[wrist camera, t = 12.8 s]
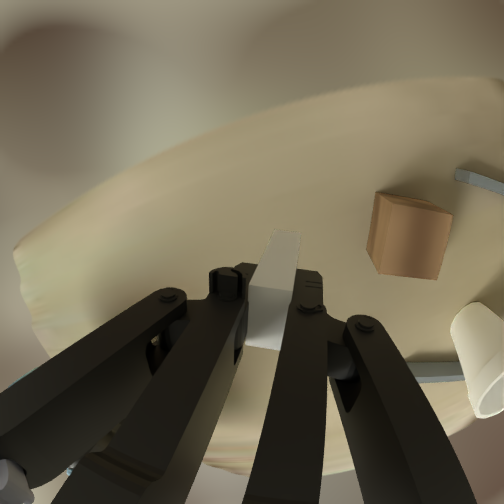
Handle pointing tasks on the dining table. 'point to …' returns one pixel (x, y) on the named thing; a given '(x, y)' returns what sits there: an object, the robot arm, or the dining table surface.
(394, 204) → the walnut block
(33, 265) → the dining table surface
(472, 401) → the foam cup
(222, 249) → the dining table surface
